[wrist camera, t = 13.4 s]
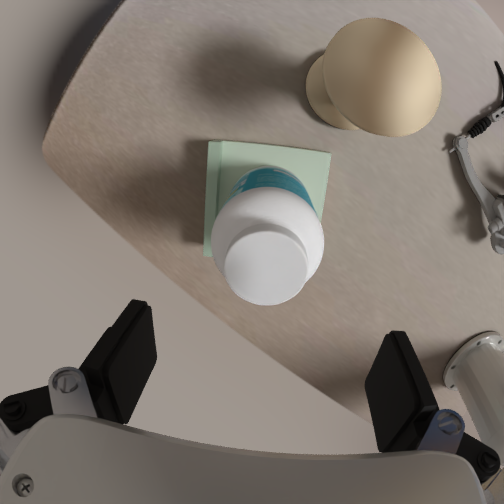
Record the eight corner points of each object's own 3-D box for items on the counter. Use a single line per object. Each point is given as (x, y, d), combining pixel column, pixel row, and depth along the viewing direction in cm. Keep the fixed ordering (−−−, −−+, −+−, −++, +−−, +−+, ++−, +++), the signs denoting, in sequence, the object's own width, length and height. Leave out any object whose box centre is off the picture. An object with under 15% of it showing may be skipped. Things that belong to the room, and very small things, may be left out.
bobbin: (388, 61, 23) (443, 40, 13) (380, 136, 26) (434, 149, 16) (309, 44, 23) (329, 5, 13) (301, 122, 27) (318, 123, 17)
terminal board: (329, 152, 28) (334, 155, 25) (312, 256, 32) (315, 268, 30) (214, 139, 28) (208, 141, 25) (208, 244, 32) (203, 255, 30)
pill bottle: (235, 158, 27) (204, 192, 15) (315, 171, 27) (349, 216, 15) (226, 233, 30) (195, 314, 18) (300, 245, 30) (315, 331, 18)
